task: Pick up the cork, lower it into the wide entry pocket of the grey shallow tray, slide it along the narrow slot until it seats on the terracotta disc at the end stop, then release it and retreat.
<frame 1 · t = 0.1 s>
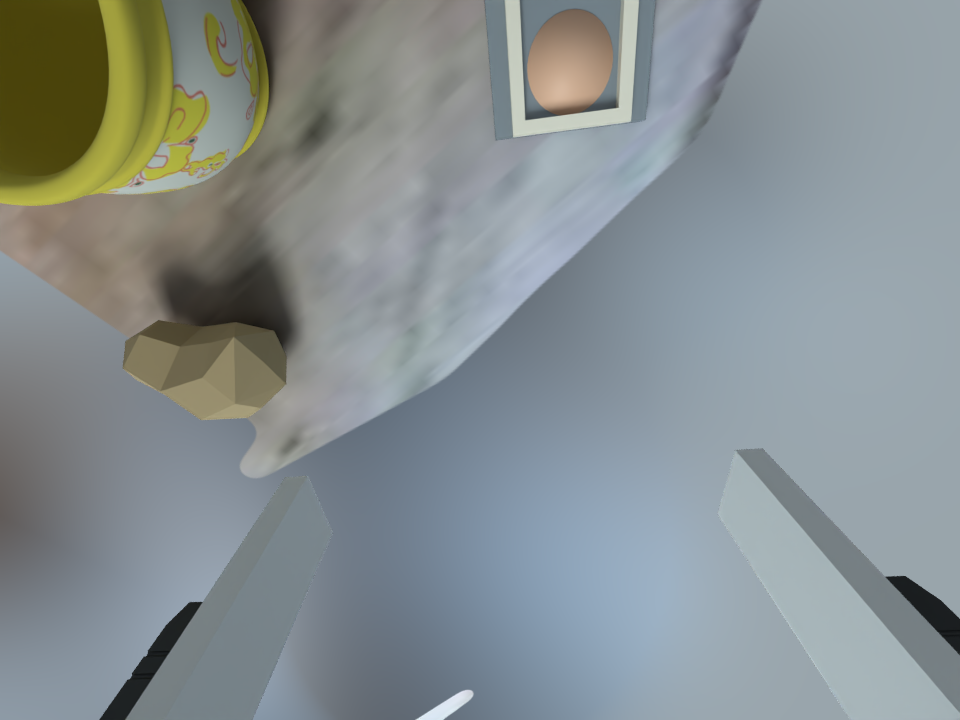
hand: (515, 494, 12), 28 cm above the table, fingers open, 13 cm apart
flowerpot: (188, 64, 30), on the table
low-poly potato: (240, 341, 41), on the table
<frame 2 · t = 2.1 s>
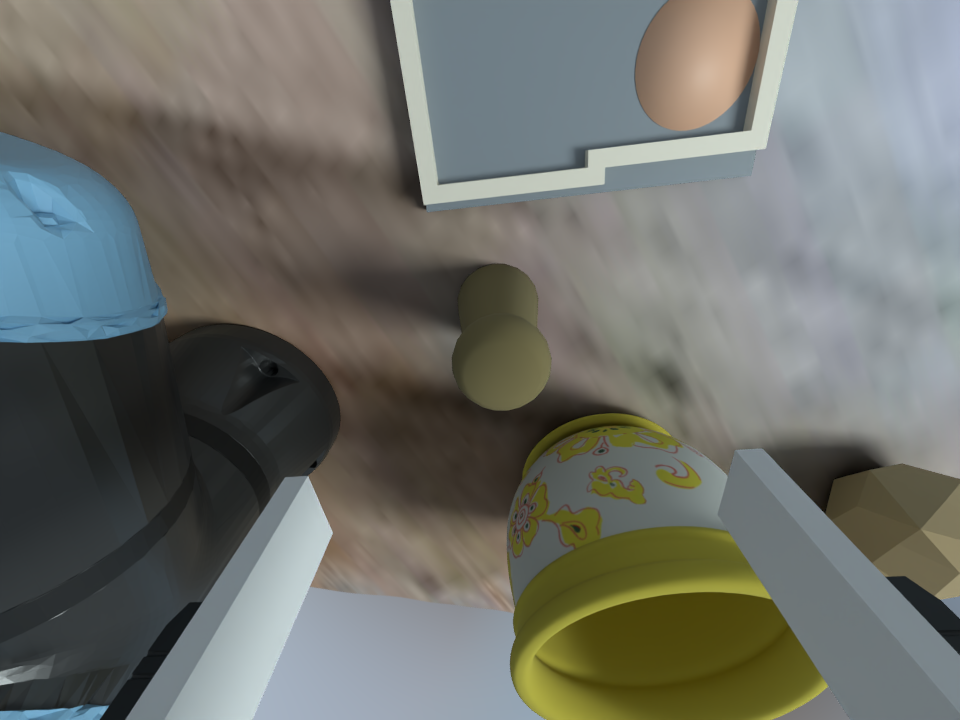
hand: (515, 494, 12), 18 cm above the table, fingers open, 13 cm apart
flowerpot: (596, 464, 35), on the table
low-poly potato: (842, 495, 36), on the table
cork: (497, 303, 28), on the table
grey shallow tray: (582, 79, 21), on the table
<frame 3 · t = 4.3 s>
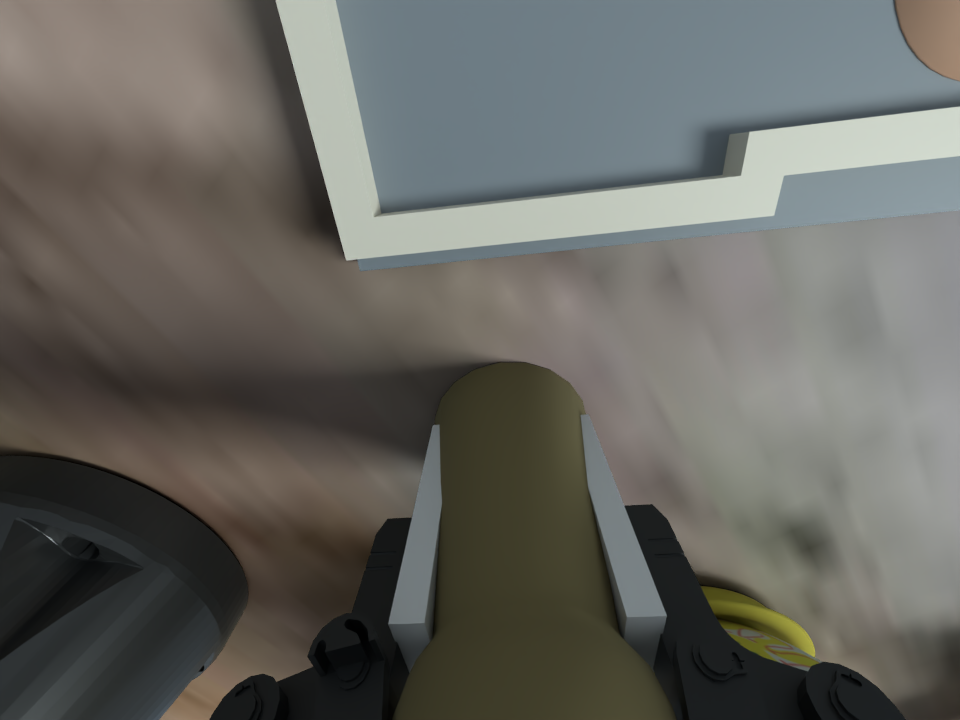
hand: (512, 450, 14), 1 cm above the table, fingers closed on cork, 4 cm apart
flowerpot: (662, 642, 22), on the table
cork: (510, 425, 15), on the table, touching gripper
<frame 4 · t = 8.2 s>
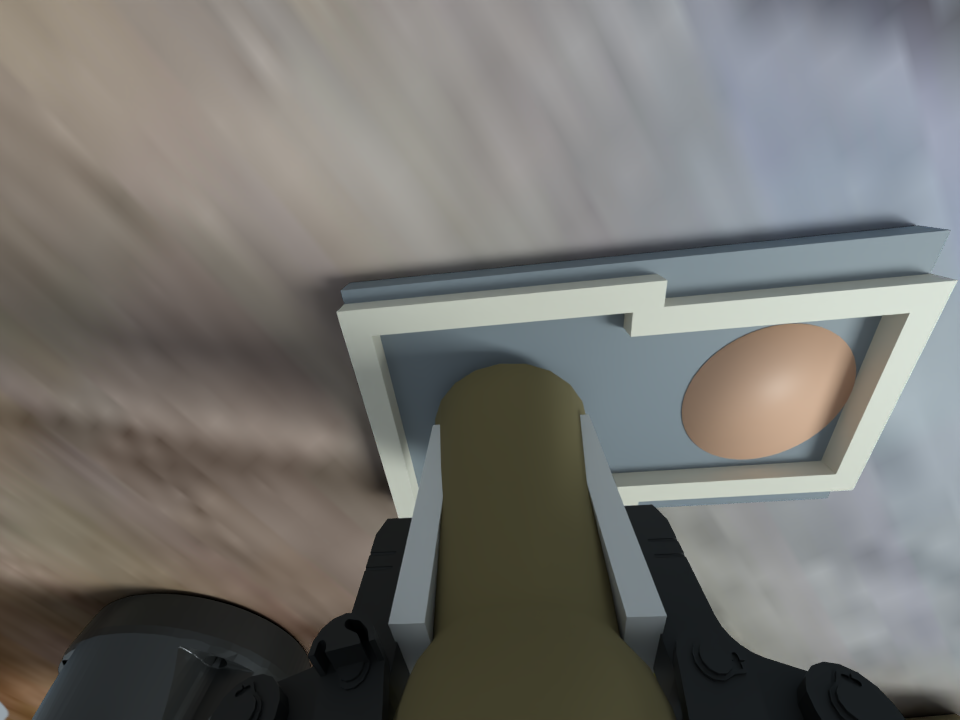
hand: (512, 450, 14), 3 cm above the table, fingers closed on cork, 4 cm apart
cork: (510, 426, 15), point 2 cm above the table, touching gripper
grey shallow tray: (610, 395, 16), on the table
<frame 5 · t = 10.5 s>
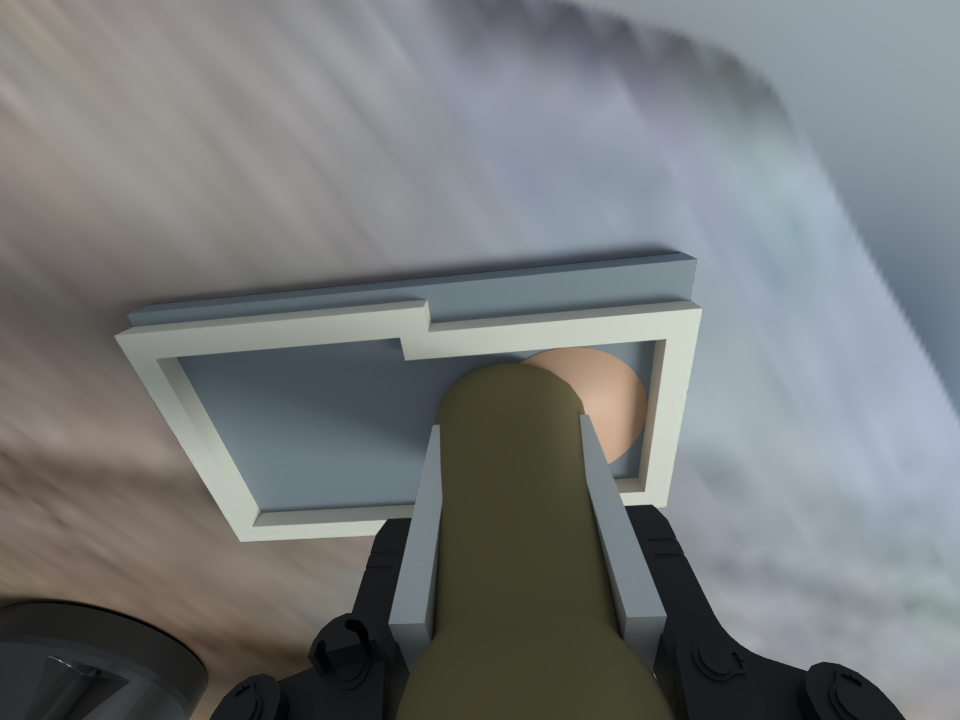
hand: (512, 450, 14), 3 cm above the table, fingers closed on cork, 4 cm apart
cork: (509, 426, 15), point 1 cm above the table, touching gripper
grey shallow tray: (429, 413, 16), on the table
when the fingers open (2 cm above the table, at t = 12.1 s): cork stays where it is, resting on grey shallow tray.
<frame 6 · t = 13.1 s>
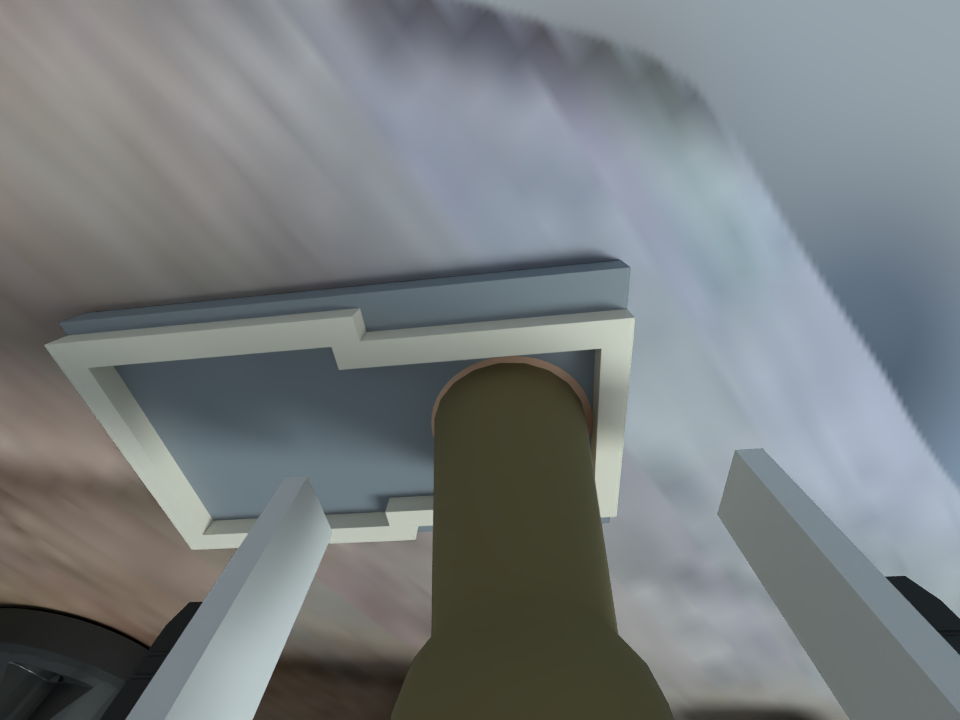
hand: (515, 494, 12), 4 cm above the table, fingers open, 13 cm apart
cork: (509, 425, 15), point 1 cm above the table, touching grey shallow tray
grey shallow tray: (377, 421, 16), on the table
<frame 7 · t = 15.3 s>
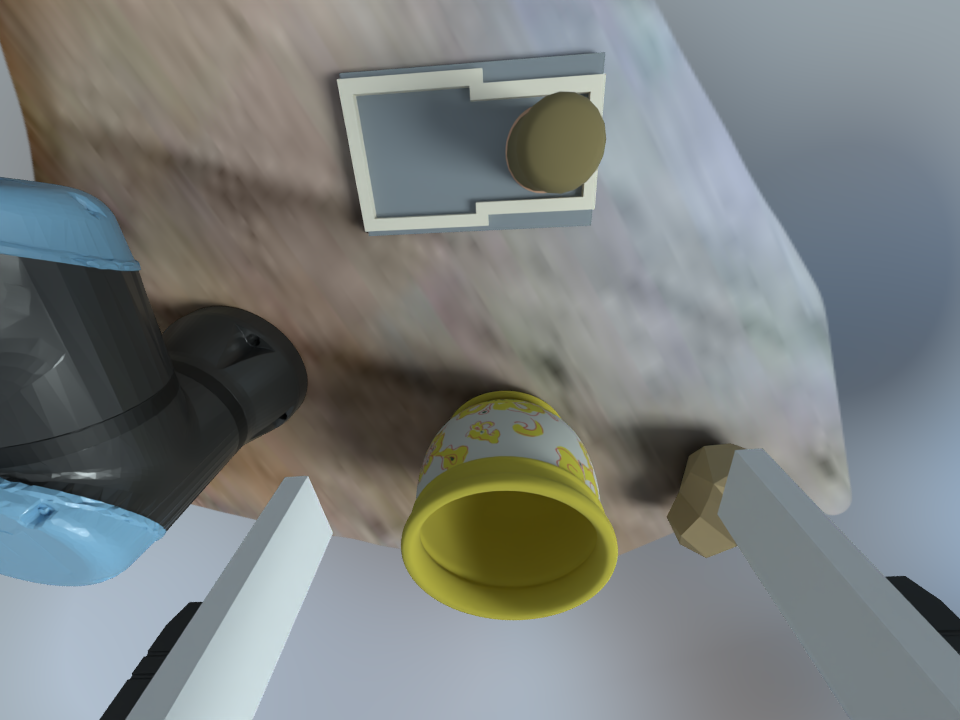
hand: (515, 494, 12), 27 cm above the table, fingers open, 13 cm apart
flowerpot: (505, 433, 45), on the table
low-poly potato: (698, 469, 46), on the table
cork: (543, 150, 30), point 1 cm above the table, touching grey shallow tray
grey shallow tray: (474, 154, 31), on the table
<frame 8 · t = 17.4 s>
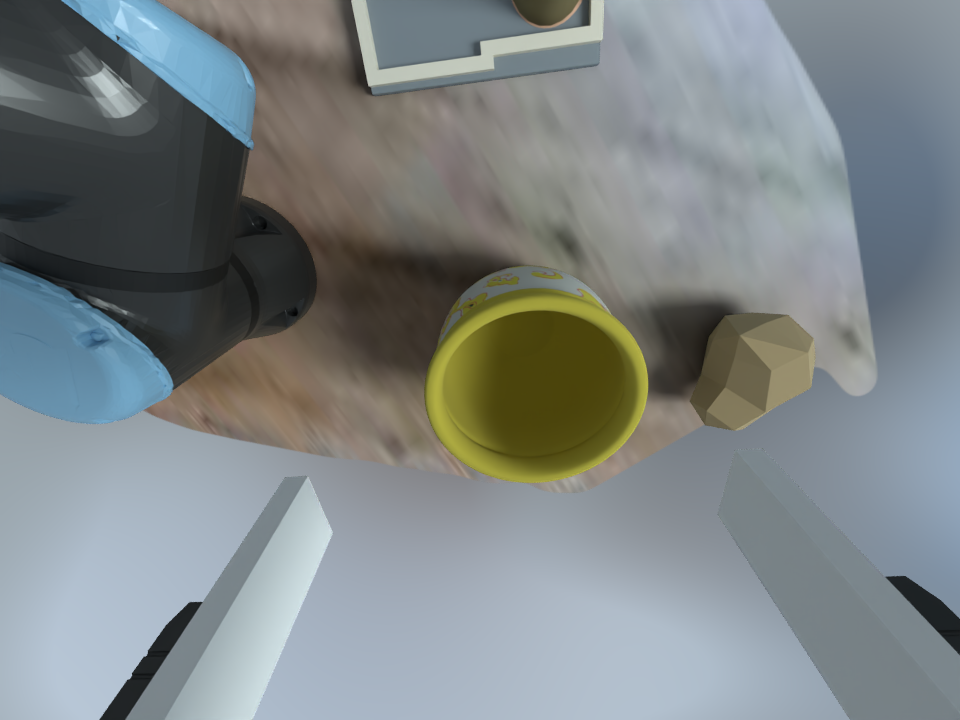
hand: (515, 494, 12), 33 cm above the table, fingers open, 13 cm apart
flowerpot: (520, 324, 44), on the table
low-poly potato: (718, 352, 45), on the table
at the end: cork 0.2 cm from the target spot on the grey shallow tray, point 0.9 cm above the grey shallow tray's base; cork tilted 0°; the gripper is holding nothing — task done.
